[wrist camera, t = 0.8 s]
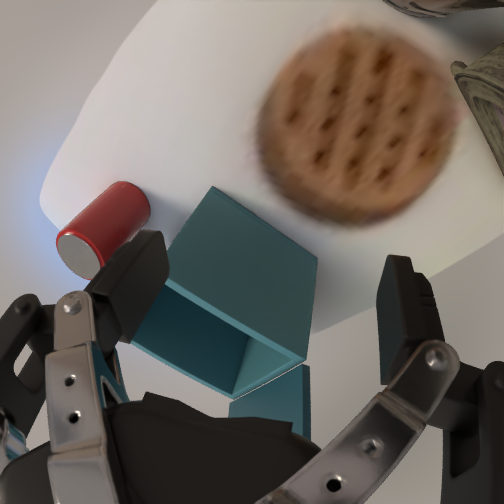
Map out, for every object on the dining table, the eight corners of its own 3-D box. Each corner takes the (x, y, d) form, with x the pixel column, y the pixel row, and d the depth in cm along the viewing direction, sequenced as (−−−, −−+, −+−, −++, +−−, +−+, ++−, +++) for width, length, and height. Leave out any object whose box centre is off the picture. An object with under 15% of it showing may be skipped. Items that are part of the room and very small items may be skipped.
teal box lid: (216, 531, 21) (223, 531, 21) (299, 542, 14) (308, 542, 14) (229, 402, 31) (236, 404, 31) (302, 363, 24) (309, 366, 24)
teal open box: (168, 253, 39) (117, 335, 29) (212, 185, 32) (154, 269, 22) (259, 310, 42) (234, 400, 32) (317, 258, 35) (306, 360, 25)
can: (99, 185, 35) (45, 233, 27) (139, 177, 34) (85, 228, 26) (117, 228, 39) (72, 281, 31) (157, 225, 37) (113, 282, 29)
